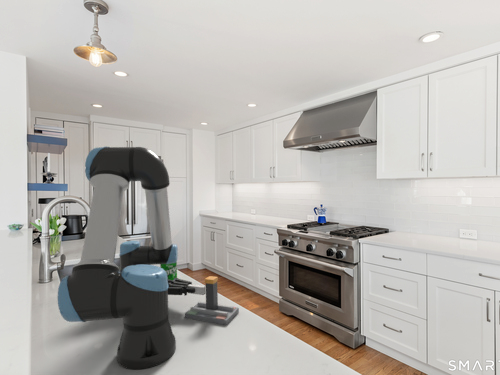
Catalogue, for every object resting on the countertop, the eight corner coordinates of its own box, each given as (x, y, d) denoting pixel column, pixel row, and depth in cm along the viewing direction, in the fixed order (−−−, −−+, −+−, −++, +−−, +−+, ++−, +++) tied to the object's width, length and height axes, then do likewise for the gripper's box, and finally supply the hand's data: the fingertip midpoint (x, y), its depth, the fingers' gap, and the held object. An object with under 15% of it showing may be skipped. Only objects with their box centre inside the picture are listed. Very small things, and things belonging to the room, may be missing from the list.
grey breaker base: (226, 324, 95) (226, 316, 94) (184, 317, 100) (184, 309, 100) (238, 312, 104) (238, 304, 104) (199, 306, 110) (199, 298, 110)
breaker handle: (214, 312, 100) (213, 279, 100) (205, 311, 101) (204, 279, 101) (218, 308, 103) (217, 276, 103) (210, 307, 104) (209, 276, 104)
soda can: (157, 283, 136) (156, 257, 136) (168, 278, 142) (168, 254, 142) (169, 285, 132) (168, 259, 132) (180, 280, 139) (179, 255, 139)
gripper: (161, 287, 118) (213, 294, 110) (138, 300, 106) (195, 308, 98) (161, 269, 118) (212, 274, 110) (138, 279, 106) (194, 286, 98)
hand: (204, 290), depth 104 cm, fingers closed
